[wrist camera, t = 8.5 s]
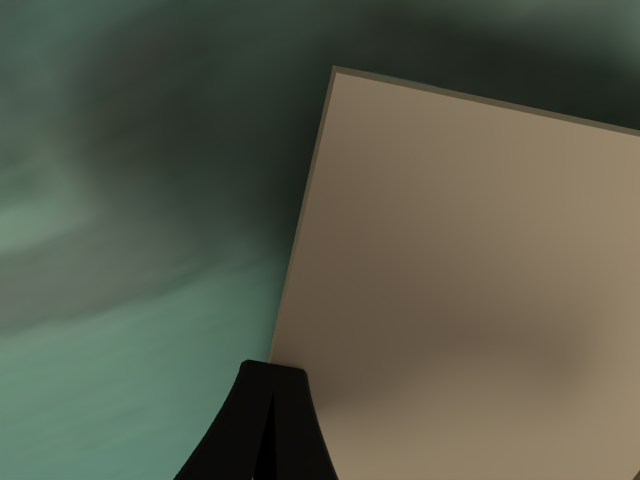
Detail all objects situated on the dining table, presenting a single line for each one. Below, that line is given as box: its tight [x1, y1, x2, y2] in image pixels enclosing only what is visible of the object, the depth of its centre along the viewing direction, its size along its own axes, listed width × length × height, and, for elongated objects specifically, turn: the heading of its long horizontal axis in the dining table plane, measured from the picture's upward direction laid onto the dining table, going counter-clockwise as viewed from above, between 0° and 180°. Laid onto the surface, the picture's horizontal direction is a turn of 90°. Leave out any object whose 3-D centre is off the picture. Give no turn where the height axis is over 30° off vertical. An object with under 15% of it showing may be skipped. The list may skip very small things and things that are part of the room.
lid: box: [252, 65, 640, 480], centre depth 13 cm, size 14×10×1 cm
